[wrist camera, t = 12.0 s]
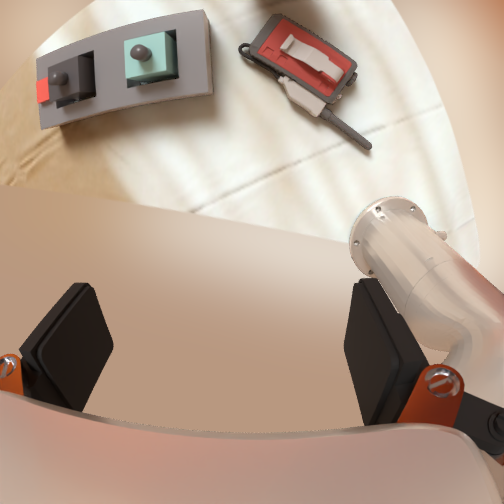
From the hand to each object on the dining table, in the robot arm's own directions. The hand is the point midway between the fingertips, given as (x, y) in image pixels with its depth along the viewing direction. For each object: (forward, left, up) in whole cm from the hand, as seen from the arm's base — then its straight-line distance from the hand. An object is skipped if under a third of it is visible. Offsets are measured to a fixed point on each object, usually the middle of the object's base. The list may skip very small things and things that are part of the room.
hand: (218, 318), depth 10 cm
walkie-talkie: (-10, -10, -30) cm, 33 cm away
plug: (+9, -14, -29) cm, 34 cm away
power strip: (+14, -14, -29) cm, 35 cm away
